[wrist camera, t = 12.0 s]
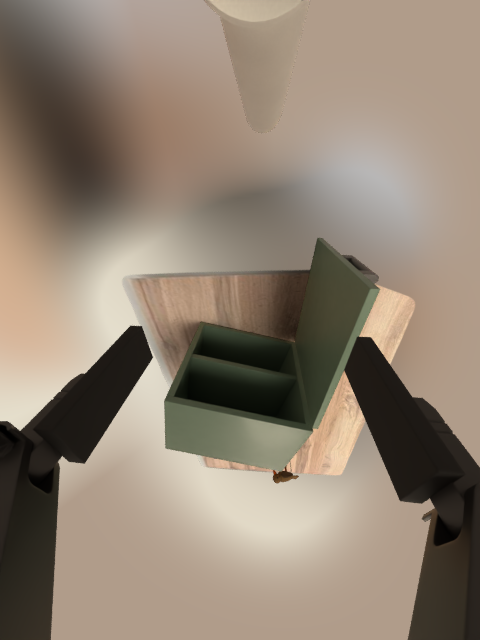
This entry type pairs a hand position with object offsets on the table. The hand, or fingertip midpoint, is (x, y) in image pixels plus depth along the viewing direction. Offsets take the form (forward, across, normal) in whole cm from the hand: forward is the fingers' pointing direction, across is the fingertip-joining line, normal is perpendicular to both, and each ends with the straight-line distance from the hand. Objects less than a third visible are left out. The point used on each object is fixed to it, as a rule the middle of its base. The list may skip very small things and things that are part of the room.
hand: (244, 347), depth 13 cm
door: (+34, +15, -14) cm, 40 cm away
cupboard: (+34, -4, -34) cm, 48 cm away
